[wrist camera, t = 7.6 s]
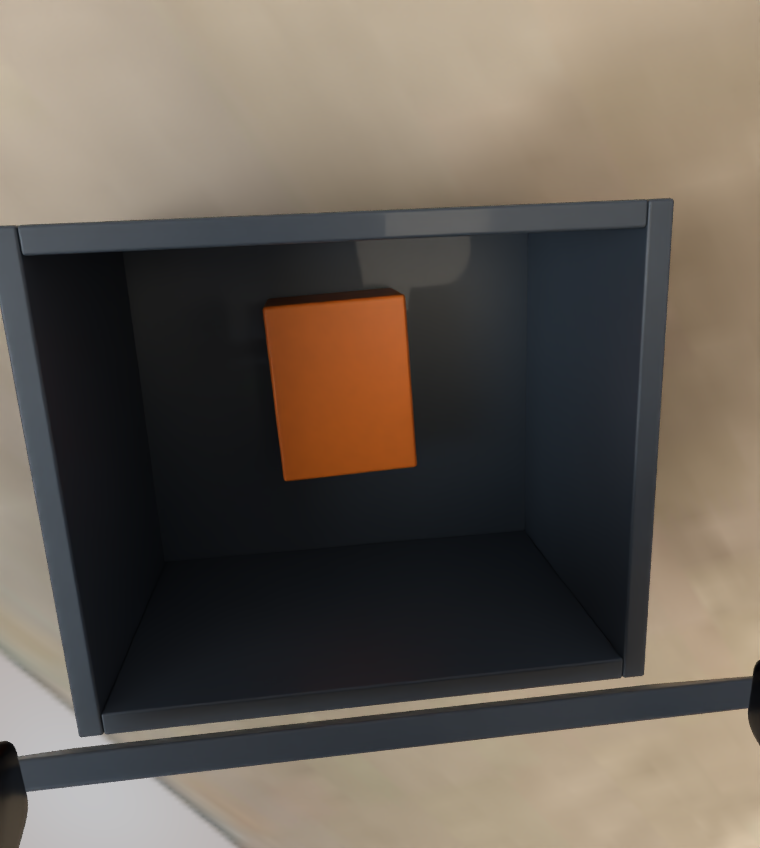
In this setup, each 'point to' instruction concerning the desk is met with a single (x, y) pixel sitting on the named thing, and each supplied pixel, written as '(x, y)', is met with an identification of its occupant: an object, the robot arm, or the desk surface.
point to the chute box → (345, 494)
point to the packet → (341, 382)
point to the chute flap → (379, 732)
